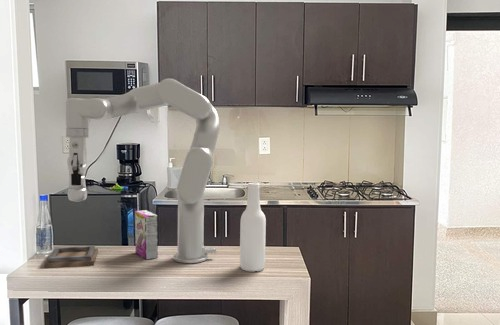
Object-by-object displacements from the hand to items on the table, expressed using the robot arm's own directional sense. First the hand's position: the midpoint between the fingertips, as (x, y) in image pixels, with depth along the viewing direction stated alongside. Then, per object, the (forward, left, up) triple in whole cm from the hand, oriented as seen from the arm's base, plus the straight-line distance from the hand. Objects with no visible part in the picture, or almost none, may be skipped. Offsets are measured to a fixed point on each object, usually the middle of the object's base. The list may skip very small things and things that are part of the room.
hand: (77, 183), depth 164 cm
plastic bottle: (0, 0, -7) cm, 7 cm away
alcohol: (-60, +21, -28) cm, 69 cm away
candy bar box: (-24, -1, -28) cm, 37 cm away
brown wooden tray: (+2, 0, -28) cm, 28 cm away
